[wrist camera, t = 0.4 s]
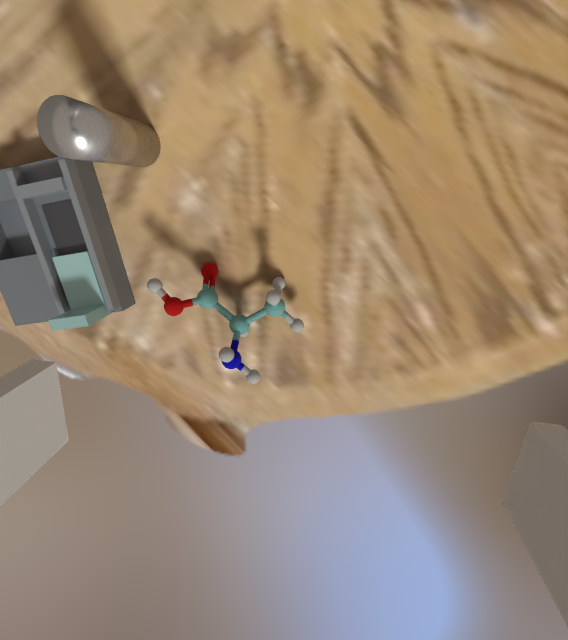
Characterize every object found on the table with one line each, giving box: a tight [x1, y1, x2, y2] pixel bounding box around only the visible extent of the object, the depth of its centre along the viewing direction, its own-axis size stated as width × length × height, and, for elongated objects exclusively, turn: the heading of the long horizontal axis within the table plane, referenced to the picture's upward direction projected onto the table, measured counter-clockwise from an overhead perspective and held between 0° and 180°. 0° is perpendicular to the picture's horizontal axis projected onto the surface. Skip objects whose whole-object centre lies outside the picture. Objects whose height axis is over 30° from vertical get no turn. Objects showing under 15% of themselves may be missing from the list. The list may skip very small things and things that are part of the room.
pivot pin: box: [37, 95, 160, 167], centre depth 28 cm, size 4×4×10 cm
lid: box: [48, 251, 112, 331], centre depth 33 cm, size 6×4×4 cm, turn 10°
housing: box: [0, 157, 135, 326], centre depth 35 cm, size 14×12×4 cm
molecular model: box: [147, 263, 304, 384], centre depth 33 cm, size 12×10×10 cm
